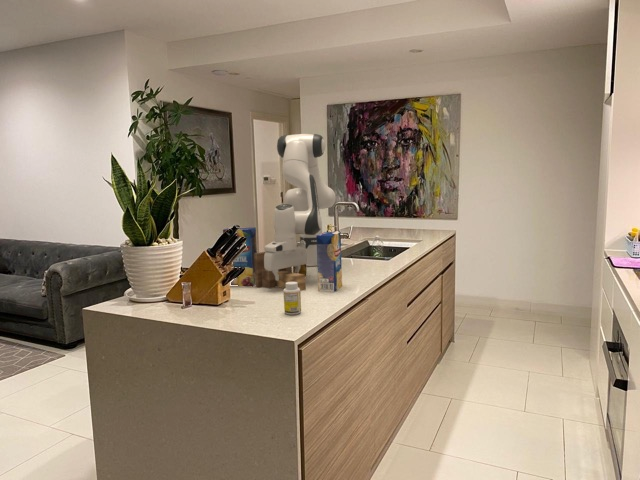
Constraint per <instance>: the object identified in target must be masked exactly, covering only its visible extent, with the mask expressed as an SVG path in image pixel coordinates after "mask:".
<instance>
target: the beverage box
mask: <svg viewBox="0 0 640 480" xmlns="http://www.w3.org/2000/svg"><path fill="white" fill-rule="evenodd" d="M341 235H342V234H341V232H340V231H324V232H323V231H322V233H321V234H319V235H316V236H317V264H318V266H317V285H318V290H317V291H318V292H330V293H331V292H333V293H335V292H337V291H338V290H339V289H341V287H342V286H343V274H342V241H341V240H342V238H341Z"/></svg>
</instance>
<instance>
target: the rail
mask: <svg viewBox="0 0 640 480" xmlns="http://www.w3.org/2000/svg"><path fill="white" fill-rule="evenodd" d="M277 273H278V275H279V276H281V280H278V281H277V280H275V286H276V287H277V288H282V289H285V288H286V283H287V282H297V283H298V288H300V292H302V291H306V289H307V287H306V286H307V285H306V277H305V275H303V274H298V273H293V271H292V272H288V271H283V270H278V272H277Z"/></svg>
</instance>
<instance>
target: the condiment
mask: <svg viewBox="0 0 640 480" xmlns="http://www.w3.org/2000/svg"><path fill="white" fill-rule="evenodd" d="M300 266H301V268H300V270H299V274H303V275H305V278H308V277H310V275H309V274H308V273H307V266H306V264H304V265H300ZM295 269H296V268H295V266H293V267H292V272H295Z"/></svg>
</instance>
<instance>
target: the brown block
mask: <svg viewBox="0 0 640 480" xmlns="http://www.w3.org/2000/svg"><path fill="white" fill-rule="evenodd" d="M266 252H267V251H260V252H257V253H254V266H255V287H256V288H267V289H273V288H276V287H277V286H275V275H274V274H273V272H272V271H268V270H266V269H265V268H264V254H265V253H266ZM278 270H283V271H288V272H293V267H288V268H283V269H278Z"/></svg>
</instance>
